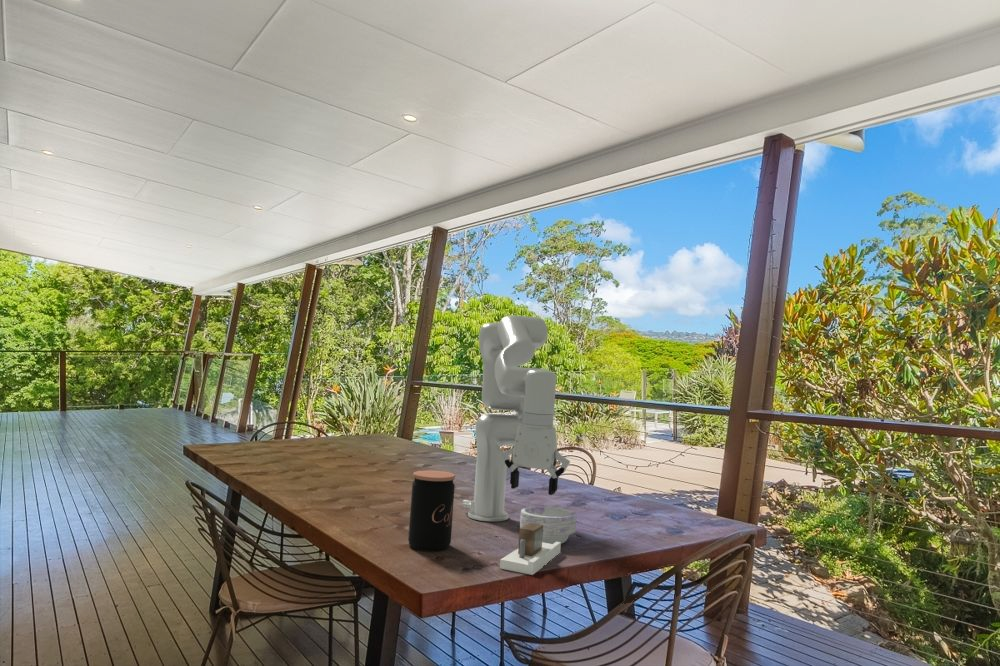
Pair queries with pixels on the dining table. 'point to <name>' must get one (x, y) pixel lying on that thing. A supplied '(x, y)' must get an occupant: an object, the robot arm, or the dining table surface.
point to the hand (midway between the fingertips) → (533, 490)
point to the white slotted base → (529, 558)
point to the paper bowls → (550, 522)
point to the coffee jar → (431, 510)
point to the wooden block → (531, 538)
